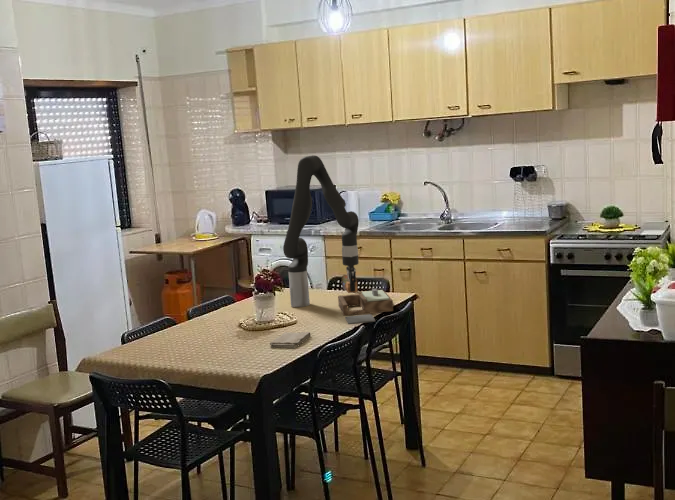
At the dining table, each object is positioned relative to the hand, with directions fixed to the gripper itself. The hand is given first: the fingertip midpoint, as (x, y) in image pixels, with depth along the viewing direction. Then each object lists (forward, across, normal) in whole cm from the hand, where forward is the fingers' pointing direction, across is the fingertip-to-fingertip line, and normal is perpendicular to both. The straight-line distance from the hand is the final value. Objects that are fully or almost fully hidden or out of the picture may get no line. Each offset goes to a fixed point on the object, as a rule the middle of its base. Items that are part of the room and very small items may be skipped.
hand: (352, 290), depth 362 cm
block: (+1, 0, 0) cm, 1 cm away
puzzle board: (+9, 0, +6) cm, 11 cm away
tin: (+10, -44, +4) cm, 45 cm away
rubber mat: (+9, +21, 0) cm, 23 cm away
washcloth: (+10, +47, -32) cm, 58 cm away
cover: (+4, 0, +11) cm, 12 cm away
